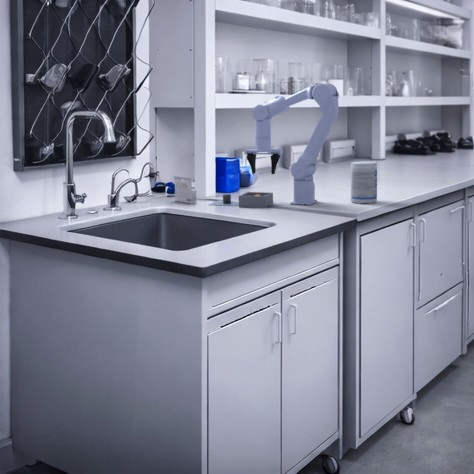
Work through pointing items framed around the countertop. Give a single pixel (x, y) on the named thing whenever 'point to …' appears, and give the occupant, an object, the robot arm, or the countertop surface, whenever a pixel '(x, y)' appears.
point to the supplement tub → (363, 182)
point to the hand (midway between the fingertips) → (263, 173)
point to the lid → (225, 201)
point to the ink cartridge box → (184, 190)
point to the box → (255, 199)
